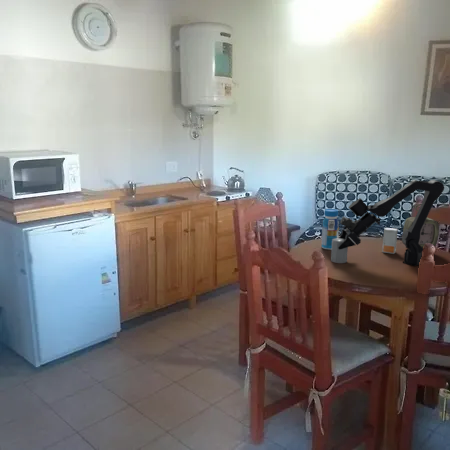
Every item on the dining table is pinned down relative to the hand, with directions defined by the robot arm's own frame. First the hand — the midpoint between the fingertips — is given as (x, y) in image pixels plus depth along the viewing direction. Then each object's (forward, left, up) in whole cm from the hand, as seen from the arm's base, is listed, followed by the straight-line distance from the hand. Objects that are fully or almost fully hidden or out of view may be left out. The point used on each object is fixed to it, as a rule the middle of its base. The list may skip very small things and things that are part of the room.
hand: (337, 246), depth 215 cm
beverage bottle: (+18, -15, -7) cm, 25 cm away
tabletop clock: (-14, -44, -7) cm, 47 cm away
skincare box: (-5, -33, -7) cm, 34 cm away
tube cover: (-1, -1, -7) cm, 7 cm away
